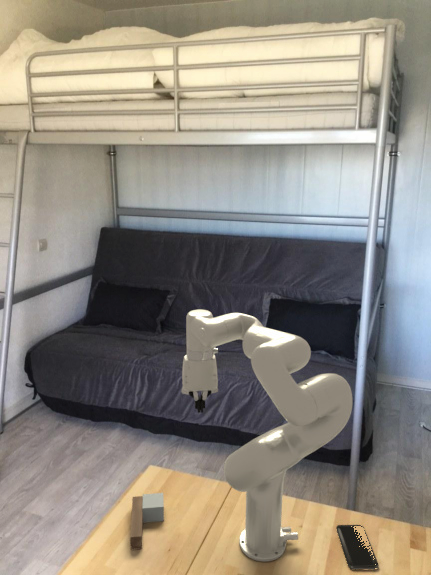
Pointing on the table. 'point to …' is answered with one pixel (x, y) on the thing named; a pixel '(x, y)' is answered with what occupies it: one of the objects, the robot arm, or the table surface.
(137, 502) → the brown wooden bar
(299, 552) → the table surface
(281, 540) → the robot arm
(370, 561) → the phone
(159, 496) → the block
